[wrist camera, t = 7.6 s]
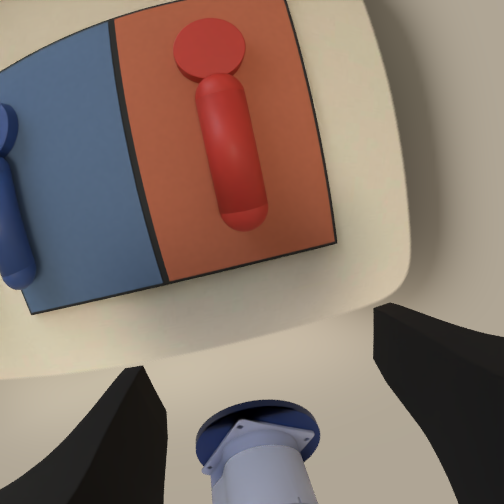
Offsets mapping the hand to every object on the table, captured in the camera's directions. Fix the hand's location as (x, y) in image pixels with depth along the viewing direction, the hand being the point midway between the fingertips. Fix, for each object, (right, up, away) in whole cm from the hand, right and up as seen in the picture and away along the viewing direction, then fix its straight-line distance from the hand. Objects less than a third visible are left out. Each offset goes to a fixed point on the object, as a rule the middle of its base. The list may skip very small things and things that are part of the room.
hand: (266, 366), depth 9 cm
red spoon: (-2, +10, +6) cm, 12 cm away
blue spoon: (-15, +7, +5) cm, 17 cm away
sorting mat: (-7, +9, +6) cm, 13 cm away
